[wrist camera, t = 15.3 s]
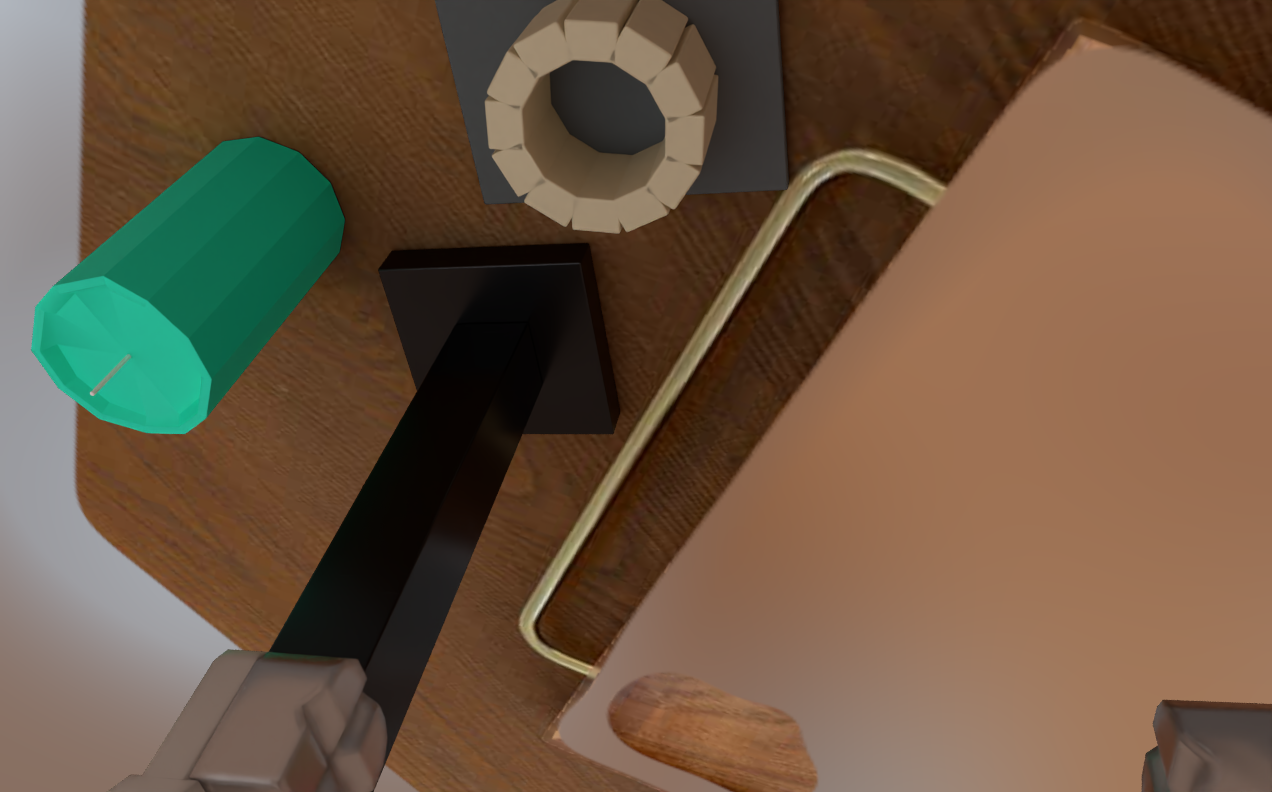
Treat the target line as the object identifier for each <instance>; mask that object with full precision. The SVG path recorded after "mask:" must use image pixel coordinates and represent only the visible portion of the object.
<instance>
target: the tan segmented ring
mask: <svg viewBox="0 0 1272 792" xmlns="http://www.w3.org/2000/svg"><path fill="white" fill-rule="evenodd" d="M687 21H688V18H687V16H685V15H684V14H682V13H681V12H679V11H677V10H676V9H674V8H673V7H671V6H670V5H668V4H667V3H665V2H664V1H662V0H556V1H555V2H553V3H551V4H549V5H547V6H546V7H544V8H542V10H541V11H540V12H539V13H538V15H536V16H535V17H534V18H533V19H532V21H531V22H530V23H529V24H528V26H527V27H526V28H525V30H524V31H523V32H522V33H521V35H520V36H519V37H518V38H517V40H516V41H515V42H514V43H513V45H512V46H511V47H510V48H509V50H508V51H507V52H506V54H505V56H504V58H503V60H502V62H501V64H500V66H499V68H498V70H497V72H496V74H495V76H494V78H493V80H492V82H491V84H490V86H489V88H488V90H487V94H488V95H489V96H488V97H487V99H486V100H485V111H486V122H487V134H488V145H489V148H490V149H496V150H495V151H494V153H493V154H492V158H493V159H494V161H495V162H496V164H497V165H498V167H499V168H500V170H501V172H502V173H503V175H504V176H505V178H506V179H507V181H508V182H509V184H510V185H511V187H512V188H513V190H514V191H515V193H516V194H517V196H518V197H519V196H522V195H524V194H526V193H528V192H529V193H528V194H527V196H526V198H525V200H524V202H525V203H526V204H528V205H529V206H531V207H533V208H534V209H536V210H538V211H539V212H541V213H543V214H544V215H546V216H548V217H549V218H551V219H553V220H554V221H556V222H558V223H559V224H561V225H563V226H564V227H566V226H567V225H568V223H569V222H570V220H571V219H572V228H573V229H574V230H584V231H595V232H607V233H620V231H621V229H622V226H623V227H624V229H625V231H626V232H629V231H631V230H634V229H636V228H638V227H641V226H643V225H645V224H648V223H650V222H652V221H654V220H657V219H659V218H661V217H664V216H666V215H668V214H669V211H670V208H672V209H675V208H676V207H677V206H678V204H679V203H680V201H681V200H682V198H683V197H684V196H685V194H686V193H687V191H688V190H689V188H690V187H691V186H692V184H693V183H694V181H695V180H696V178H697V177H698V176H699V174H700V172H701V168H702V165H703V163H704V159H705V156H706V153H707V149H708V146H709V143H710V139H711V136H712V133H713V129H714V126H715V122H716V115H717V95H718V75H714V73H715V70H716V65H715V63H714V62H713V60H712V58H711V56H710V54H709V52H708V50H707V48H706V46H705V44H704V42H703V40H702V38H701V36H700V34H699V32H698V31H697V29H696V27H695V25H694V24H692V25H690V26H688V27H686V28H685V26H686V23H687ZM572 60H578V61H594V62H609V63H613V64H615V65H616V66H618V67H619V68H621V69H622V70H624V71H625V72H627V73H629V74H630V75H632V76H633V77H635V78H636V79H638V80H640V81H641V82H643V83H644V84H646V85H647V87H648V89H649V91H650V92H651V94H652V96H653V98H654V100H655V102H656V103H657V105H658V107H659V109H660V111H661V112H662V114H663V116H664V118H665V138H664V139H663V141H662V142H660V143H657V144H655V145H653V146H651V147H649V148H647V149H645V150H643V151H640V152H638V153H636V154H634V155H625V154H612V153H600V152H598V151H596V150H594V149H593V148H591V147H590V146H588V145H586V144H585V143H583V142H582V141H580V140H578V139H577V138H575V137H574V136H572V135H570V134H569V132H568V131H567V129H566V127H565V126H564V124H563V122H562V121H561V119H560V118H559V116H558V114H557V113H556V111H555V109H554V108H553V106H552V104H551V91H550V72H551V71H553V70H555V69H557V68H559V67H561V66H563V65H565V64H567V63H568V62H570V61H572Z"/></svg>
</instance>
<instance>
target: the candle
mask: <svg viewBox="0 0 1272 792" xmlns="http://www.w3.org/2000/svg"><path fill="white" fill-rule="evenodd" d="M344 224H345V218H344V216H343V213H342V211H341V208H340V206H339V203H338V200H337V198H336V195H335V193H334V190H333V188H332V185H331V183H330V182H329V181H328V180H327V179H326V178H325V177H324V176H323V175H322V174H321V173H320V172H319V171H318V170H317V169H316V168H315V167H314V166H313V165H312V164H311V163H310V162H309V161H308V160H307V159H305V158H304V157H303V156H302V155H301V154H300V153H299V152H297V151H295V150H292V149H290V148H287V147H284V146H282V145H279V144H277V143H274V142H271V141H269V140H266V139H264V138H261V137H253V138H245V139H238V140H230V141H223V142H222V143H220V144H219V145H218V146H217V147H216V148H215V149H213V150H212V151H211V152H210V153H209V154H208V155H206V156H205V157H204V158H203V159H202V160H201V161H199V162H198V163H197V164H196V165H195V166H193V167H192V168H191V169H190V170H189V171H188V172H186V173H185V174H184V175H183V176H182V177H181V178H179V179H178V180H177V181H176V182H175V183H174V184H172V185H171V186H170V187H169V188H168V189H166V190H165V191H164V192H163V193H162V194H161V195H159V196H158V197H157V198H156V199H155V200H154V201H152V202H151V203H150V204H149V205H148V206H147V207H145V208H144V209H143V210H142V211H141V212H139V213H138V214H137V215H136V216H135V217H134V218H132V219H131V220H130V221H129V222H128V223H127V224H125V225H124V226H123V227H122V228H121V229H120V230H118V231H117V232H116V233H115V234H114V235H112V236H111V237H110V238H109V239H108V240H107V241H105V242H104V243H103V244H102V245H101V246H100V247H98V248H97V249H96V250H95V251H94V252H93V253H91V254H90V255H89V256H88V257H87V258H85V259H84V260H83V261H82V262H81V263H80V264H78V265H77V266H76V267H75V268H74V269H73V270H71V271H70V272H69V273H68V274H67V275H66V276H64V277H63V278H62V279H61V280H60V281H58V282H57V283H56V284H55V285H54V286H53V287H52V288H51V289H50V290H49V292H48V293H47V294H46V295H45V296H44V297H43V299H42V300H41V301H40V302H39V303H38V304H37V306H36V307H35V316H34V327H33V338H32V347H31V351H32V352H33V353H34V355H35V356H36V358H37V359H38V360H39V362H40V363H41V364H42V366H43V367H44V369H45V370H46V371H47V373H48V374H49V376H50V377H51V379H52V380H53V381H54V383H55V384H56V385H57V387H58V388H59V389H60V390H62V391H63V392H64V393H66V394H67V395H68V396H70V397H71V398H72V399H74V400H75V401H76V402H78V403H79V404H80V405H81V406H83V407H84V408H85V409H87V410H88V411H89V412H91V413H92V414H93V415H95V416H96V417H97V418H99V419H101V420H104V421H108V422H111V423H115V424H118V425H121V426H125V427H128V428H132V429H135V430H138V431H142V432H145V433H163V434H186V433H187V432H188V431H190V430H191V429H192V428H194V427H195V426H196V425H198V424H199V423H200V422H202V421H203V420H204V419H206V418H207V417H208V415H209V414H210V413H211V412H212V410H213V409H214V408H215V407H216V405H217V404H218V403H219V402H220V400H221V399H222V398H223V397H224V395H225V394H226V393H227V392H228V390H229V389H230V388H231V387H232V385H233V384H234V383H235V382H236V380H237V379H238V378H239V377H240V375H241V374H242V373H243V372H244V371H245V369H246V368H247V367H248V366H249V364H250V363H251V362H252V361H253V359H254V358H255V357H256V356H257V354H258V353H259V352H260V351H261V349H262V348H263V347H264V346H265V344H266V343H267V342H268V341H269V339H270V338H271V337H272V336H273V334H274V333H275V332H276V331H277V329H278V328H279V327H280V326H281V324H282V323H283V322H284V321H285V320H286V318H287V317H288V316H289V315H290V313H291V312H292V311H293V310H294V308H295V307H296V306H297V305H298V303H299V302H300V301H301V300H302V298H303V297H304V296H305V295H306V293H307V292H308V291H309V290H310V288H311V287H312V286H313V285H314V283H315V282H316V281H317V280H318V278H319V277H320V276H321V275H322V273H323V272H324V271H325V270H326V269H327V267H328V266H329V265H330V264H331V262H332V261H333V260H334V259H335V257H336V256H337V255H338V254H339V252H340V247H341V241H342V235H343V229H344Z"/></svg>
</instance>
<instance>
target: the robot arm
mask: <svg viewBox="0 0 1272 792" xmlns="http://www.w3.org/2000/svg"><path fill="white" fill-rule="evenodd" d="M366 681H367V676H366V675H365V673H364V671H363V669H362V667H361V665H360V663H359V661H358V659H351V658H338V657H325V656H313V655H300V654H287V653H274V652H262V651H245V650H227V651H225V652H224V653H223V654H222V655H220V656H219V657H218V658H216V659H215V660H214V661H213V663H212V664H211V666H210V667H209V669H208V671H207V672H206V674H205V676H204V677H203V679H202V680H201V682H200V684H199V685H198V687H197V688H196V690H195V692H194V693H193V695H192V696H191V698H190V700H189V701H188V703H187V704H186V706H185V708H184V709H183V711H182V712H181V714H180V716H179V717H178V719H177V720H176V722H175V724H174V725H173V727H172V729H171V730H170V732H169V733H168V735H167V737H166V738H165V740H164V742H163V743H162V745H161V746H160V748H159V749H158V751H157V753H156V754H155V756H154V758H153V759H152V761H151V762H150V764H149V765H148V767H147V769H146V770H145V772H144V774H143V775H129V776H128V777H127V778H125V779H124V780H122V781H121V782H120V783H118V784H117V785H116V786H114V787H113V788H111V789H110V790H109V791H107V792H371V791H372V790H373V789H374V788H375V785H376V783H377V780H378V778H379V775H380V773H381V770H382V768H383V765H384V759H385V752H386V745H387V738H388V737H387V729H386V722H385V717H384V715H383V713H382V710H381V708H380V705H379V704H378V703H377V702H375V701H374V700H373V699H371V698H370V697H369V696H367V695H366V694H365V693H363V692H362V689H363V687H364V685H365V683H366ZM1153 727H1154V731H1155V735H1156V740H1157V744H1158V746H1156V747H1155V748H1153V749H1152V750H1150V751H1149V752H1147V753H1146V755H1145V761H1144V766H1143V772H1142V792H1272V704H1257V703H1231V702H1206V701H1180V700H1162V702H1161V703H1160V704H1159V705H1158V706H1157V709H1156V713H1155V717H1154V721H1153Z"/></svg>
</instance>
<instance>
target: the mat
mask: <svg viewBox="0 0 1272 792" xmlns="http://www.w3.org/2000/svg"><path fill="white" fill-rule="evenodd" d="M555 1H556V0H435V3H436V7H437V11H438V15H439V19H440V23H441V27H442V31H443V36H444V40H445V44H446V48H447V52H448V56H449V60H450V64H451V68H452V72H453V76H454V81H455V85H456V89H457V93H458V97H459V101H460V105H461V109H462V113H463V117H464V121H465V125H466V130H467V134H468V138H469V142H470V146H471V150H472V154H473V158H474V162H475V166H476V170H477V174H478V179H479V183H480V187H481V191H482V195H483V199H484V203H485V204H505V203H525V202H524V200H525V198H526V196H527V194H528V193H529V192H528V193H526V194H524V195H522V196H519V197H518V196H517V194H516V193H515V191H514V190H513V188H512V187H511V185H510V184H509V182H508V181H507V179H506V178H505V176H504V175H503V173H502V172H501V170H500V168H499V167H498V165H497V164H496V162H495V161H494V159H493V158H492V154H493V153H494V151H495V150H496V149H490V148H489V145H488V134H487V122H486V111H485V100H486V99H487V97H488V96H489V95H488V94H487V90H488V88H489V86H490V84H491V82H492V80H493V78H494V76H495V74H496V72H497V70H498V68H499V66H500V64H501V62H502V60H503V58H504V56H505V54H506V52H507V51H508V50H509V48H510V47H511V46H512V45H513V43H514V42H515V41H516V40H517V38H518V37H519V36H520V35H521V33H522V32H523V31H524V30H525V28H526V27H527V26H528V24H529V23H530V22H531V21H532V19H533V18H534V17H535V16H536V15H538V13H539V12H540V11H541V10H542V8H544V7H546V6H547V5H549V4H551V3H553V2H555ZM662 1H664V2H665V3H667V4H668V5H670V6H671V7H673V8H674V9H676V10H677V11H679V12H681V13H682V14H684V15H685V16H687V18H688V21H687V23H686V26H685V28H686V27H688V26H690V25H692V24H694V25H695V27H696V29H697V31H698V32H699V34H700V36H701V38H702V40H703V42H704V44H705V46H706V48H707V50H708V52H709V54H710V56H711V58H712V60H713V62H714V63H715V65H716V70H715V73H714V75H718V95H717V115H716V122H715V126H714V129H713V133H712V136H711V139H710V143H709V146H708V149H707V153H706V156H705V159H704V163H703V165H702V168H701V172H700V174H699V176H698V177H697V178H696V180H695V181H694V183H693V184H692V186H691V187H690V188H689V190H688V191H687V193H686V194H685V195H689V194H710V193H730V192H750V191H771V190H787V189H788V184H789V175H788V158H787V141H786V124H785V107H784V90H783V73H782V56H781V39H780V22H779V5H778V0H662ZM550 91H551V104H552V106H553V108H554V109H555V111H556V113H557V114H558V116H559V118H560V119H561V121H562V122H563V124H564V126H565V127H566V129H567V131H568V132H569V134H570V135H572V136H574V137H575V138H577V139H578V140H580V141H582V142H583V143H585V144H586V145H588V146H590V147H591V148H593V149H594V150H596V151H598V152H600V153H612V154H625V155H634V154H636V153H638V152H640V151H643V150H645V149H647V148H649V147H651V146H653V145H655V144H657V143H660V142H662V141H663V139H664V138H665V118H664V116H663V114H662V112H661V111H660V109H659V107H658V105H657V103H656V102H655V100H654V98H653V96H652V94H651V92H650V91H649V89H648V87H647V85H646V84H644V83H643V82H641V81H640V80H638V79H636V78H635V77H633V76H632V75H630V74H629V73H627V72H625V71H624V70H622V69H621V68H619V67H618V66H616V65H615V64H613V63H609V62H594V61H578V60H572V61H570V62H568V63H567V64H565V65H563V66H561V67H559V68H557V69H555V70H553V71H551V72H550Z"/></svg>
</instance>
